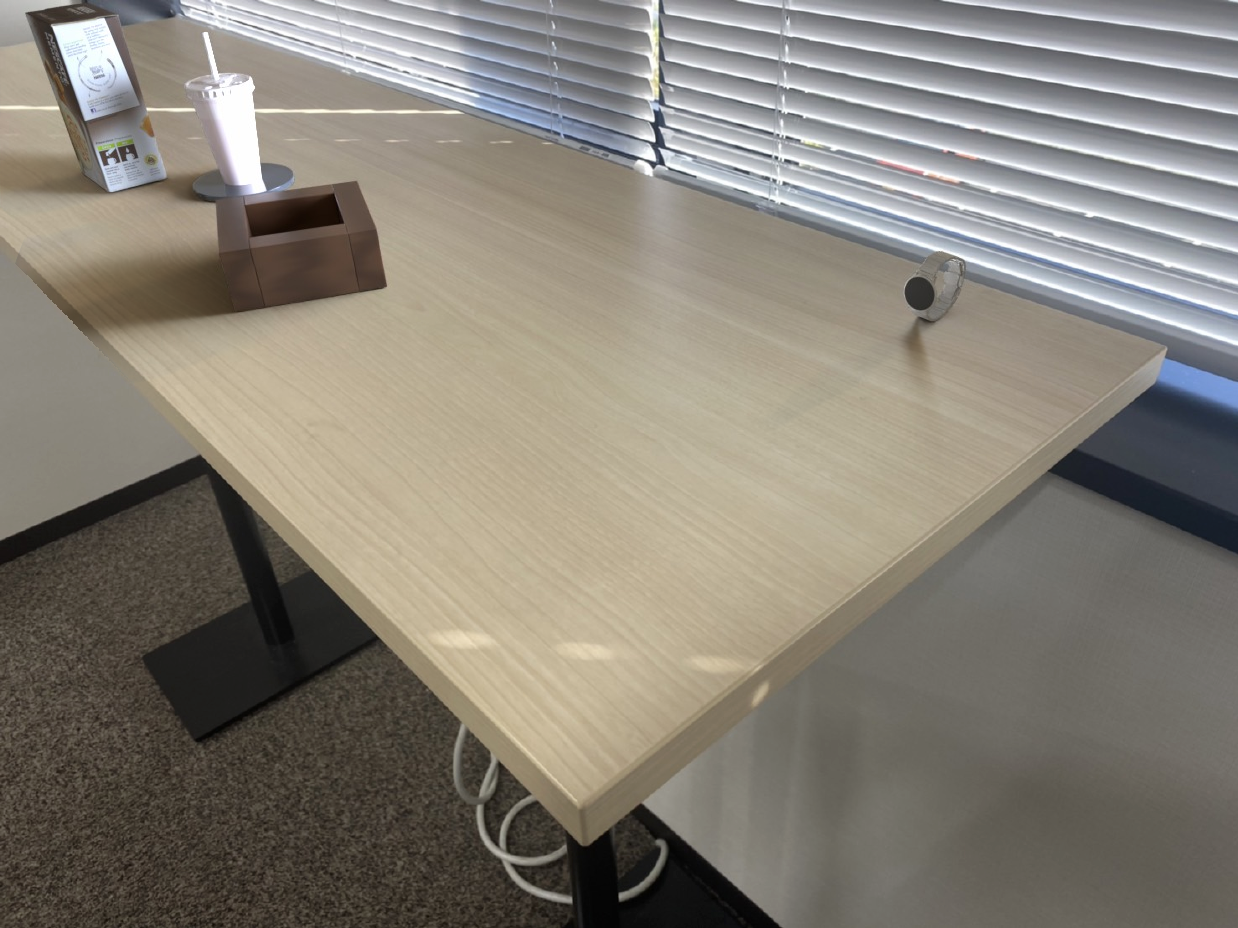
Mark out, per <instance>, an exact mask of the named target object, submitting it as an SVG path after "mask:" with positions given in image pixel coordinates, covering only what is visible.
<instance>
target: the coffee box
mask: <svg viewBox="0 0 1238 928" xmlns="http://www.w3.org/2000/svg"><path fill="white" fill-rule="evenodd" d="M24 15H25V17H26V21H27V23H28V26H29V28H30V31H31V34H32V37H33V40H34V43H35V46H36V48H37V52H38V54H39V56H40V59H41V62H42V65H43V68H44V70H45V73H46V76H47V78H48V82H49V84H50V87H51V90H52V92H53V95H54V98H55V100H56V103H57V106H58V109H59V111H60V114H61V117H62V120H63V123H64V125H65V128H66V132H67V134H68V137H69V140H70V142H71V145H72V149H73V151H74V154H75V157H76V159H77V162H78V165H79V168H80V170H81V173H82V174H83V175H85V176H86V177H87V178H89V180H91V181H93V183H95V184H96V185H98V186H100V187H101V188H102V189H104V190H105V191H106V192H107V193H114V192H118V191H121V190H126V189H130V188H134V187H138V186H141V185H146V184H149V183H153V182H158V181H162V180H165V179H166V178H167V176H168V175H167V172H166V169H165V166H164V165H165V164H164V162H163V158H162V155H161V152H160V148H159V146H158V142H157V139H156V135H155V133H154V129H153V126H152V122H151V118H150V116H149V115H150V114H149V112H148V109H147V106H146V105H147V104H146V101H145V99H144V96H143V93H142V89H141V86H140V83H139V79H138V76H137V73H136V69H135V66H134V63H133V60H132V56H131V53H130V50H129V46H128V43H127V39H126V36H125V33H124V30H123V27H122V22H121V20H120V15H119V14H117V13H115V12H112V11H109V10H107V9H104V8H102V7H99V6H97V5H94V4H92V3H89V2H83V3H82V2H81V3H74V4H67V5H60V6H54V7H48V8H44V9H39V10H31V11H26V12H25V14H24Z"/></svg>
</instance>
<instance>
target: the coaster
mask: <svg viewBox="0 0 1238 928" xmlns="http://www.w3.org/2000/svg"><path fill="white" fill-rule="evenodd" d="M260 169H261V179H260V180H258V181H256V182H254V183H250V184H246V185H228V184H226V183H224V180H223V178H222V175H221V173H220V170H219V168H217V169H214V170H211V171H209V172H206V173H204V174H202V175H200V176H199V177H197V178H196V179H195V180H194V182H193V183H192V190H193V194H194V195H195V196H196V197H197V198H199V199H201V200H204V201H208V202H214V203H216V200H220V199H227V198H235V197H242V196H243V197H244V196H248V195H256V194H263V193H270V192H278V191H285V190H288V189H289V188H290V187H291V186H293V184H294V183H295V180H296V177H295V172H294V171H293V169H292V168H290V167H289V166H286V165H283V164H279V163H272V162H271V163H270V162H260ZM293 182H294V183H293ZM289 186H290V187H289Z"/></svg>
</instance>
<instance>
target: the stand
mask: <svg viewBox="0 0 1238 928" xmlns="http://www.w3.org/2000/svg"><path fill="white" fill-rule="evenodd" d="M369 208H370V207H369V206H368V203H367V201H366V198H365V196H364V194H363V191H362V189H361V186H360V183H359V181H358V180H351V181H344V182H337V183H332V184H330V183H329V184H323V185H316V186H307V187H302V188H293V189H286V190H284V191H278V192H270V193H263V194H256V195H248V196H244V197H243V196H242V197H235V198H227V199H220V200H216V202H215V215H216V230H217V231H216V232H217V247H218V256H219V260H220V263H221V267H222V271H223V274H224V278H225V282H226V285H227V289H228V292H229V296H230V299H231V302H232V307H233V310H234V312H235V313H239V312H244V311H251V310H257V309H263V308H270V307H277V306H281V305H287V304H294V303H301V302H305V301H306V302H307V301H311V300H318V299H325V298H330V297H336V296H341V295H348V294H353V293H359V292H365V291H371V290H376V289H383V288H388V282H387V276H386V270H385V265H384V260H383V254H382V249H381V242H380V237H379V231H378V228H377V226H376V223H375V220H374V218H373V216H372V214H371V211H370V209H369Z"/></svg>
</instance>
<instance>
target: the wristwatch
mask: <svg viewBox="0 0 1238 928" xmlns="http://www.w3.org/2000/svg"><path fill="white" fill-rule="evenodd" d="M946 263H948V269H947V270H945V271H944V273H943V278H942V281H944V285H943V288H942V290H941V292H940V293H939V295H938V289H937V286H936V281H937V277H938V276H937V274H938V272H939V271H940V270H941V268H942V267H943V265H945V264H946ZM966 270H967V264H966V261H965V259H963V258H962V257H959V256H957V255H954V254H951V253H949V252H945V251H943V250H938V251H934V252H932V253H931V254H930V255H928V256H927V257H926V258H925V259H924V260H923V262H922V263H921V265H920V267H919V268H918V270H915V272H914V274H913V275H912V276H911V277H909V278H908V279H907V281H906V282H905V284H904V287H903V296H904V300H905V302H906V303H907V308H908V309H910V311H911V313H912V314H914V316H917V317H919V318H922V319H924V320H927V321H930V322H936V321H939V320H940V319H942V318H943V317H944V316H945V315H946V314H947V313H948V312H949V311H950V309H952V307H953V306H954V305H955V304H956V302H957V300H958V299H959V296H960V294H961V291H962V287H963V284H964V281H965V275H966Z"/></svg>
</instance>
